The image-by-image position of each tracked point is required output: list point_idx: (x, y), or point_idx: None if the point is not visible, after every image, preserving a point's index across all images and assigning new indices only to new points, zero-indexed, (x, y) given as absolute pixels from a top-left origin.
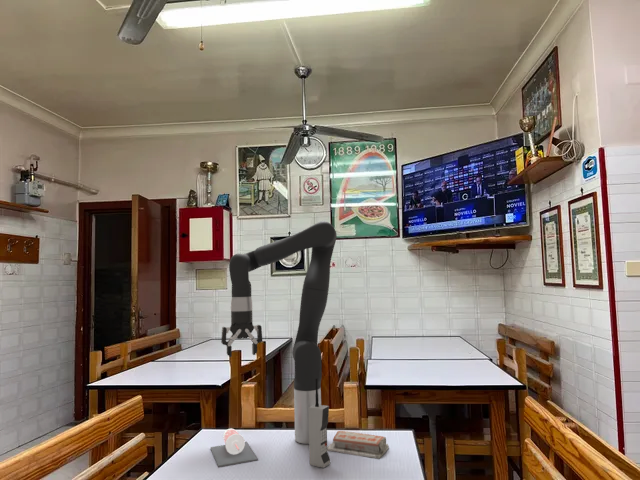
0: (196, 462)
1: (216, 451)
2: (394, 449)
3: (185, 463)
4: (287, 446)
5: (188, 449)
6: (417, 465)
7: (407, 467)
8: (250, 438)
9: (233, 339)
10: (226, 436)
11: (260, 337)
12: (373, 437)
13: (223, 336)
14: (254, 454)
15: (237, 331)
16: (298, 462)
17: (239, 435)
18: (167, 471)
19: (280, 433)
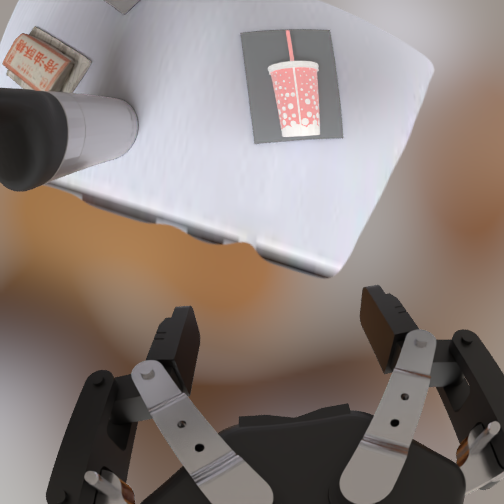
0: (371, 74)
1: (331, 104)
2: None
3: (391, 80)
4: (161, 94)
5: (385, 155)
6: (13, 12)
7: (24, 3)
8: (242, 173)
9: (408, 375)
10: (316, 94)
11: (91, 402)
12: (15, 56)
13: (500, 380)
14: (245, 55)
15: (398, 464)
16: (159, 10)
17: (284, 62)
18: (417, 62)
19: (165, 186)
